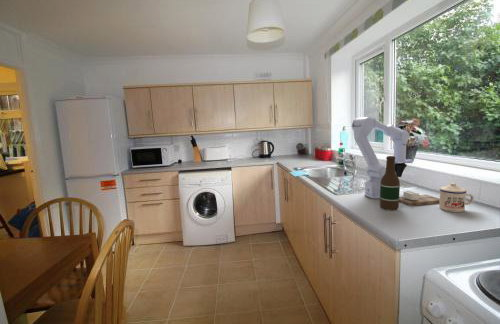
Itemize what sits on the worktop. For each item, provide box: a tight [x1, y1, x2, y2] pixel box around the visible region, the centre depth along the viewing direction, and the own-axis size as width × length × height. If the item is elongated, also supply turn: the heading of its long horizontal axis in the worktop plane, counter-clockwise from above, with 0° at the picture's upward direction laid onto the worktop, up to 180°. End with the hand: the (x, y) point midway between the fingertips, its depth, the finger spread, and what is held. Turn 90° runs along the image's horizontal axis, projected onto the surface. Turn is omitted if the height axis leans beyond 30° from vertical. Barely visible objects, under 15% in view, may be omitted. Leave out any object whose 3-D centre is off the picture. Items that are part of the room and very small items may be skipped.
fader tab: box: [402, 190, 420, 200], centre depth 120 cm, size 4×5×3 cm
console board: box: [399, 194, 440, 207], centre depth 121 cm, size 18×10×2 cm, turn 99°
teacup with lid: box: [438, 182, 475, 213], centre depth 107 cm, size 12×9×12 cm
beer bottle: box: [379, 155, 401, 211], centre depth 112 cm, size 8×8×24 cm
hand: (398, 176), depth 136 cm, fingers closed
